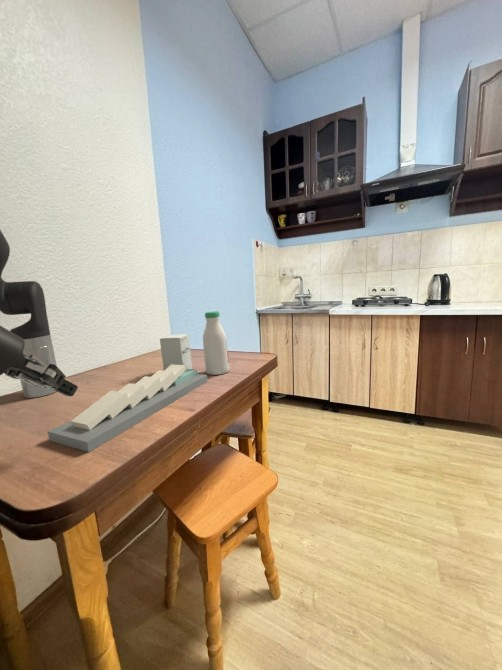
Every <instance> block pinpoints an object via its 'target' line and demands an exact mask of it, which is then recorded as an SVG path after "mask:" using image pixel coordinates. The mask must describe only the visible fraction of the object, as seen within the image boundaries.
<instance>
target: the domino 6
mask: <svg viewBox="0 0 502 670" xmlns="http://www.w3.org/2000/svg"><path fill="white" fill-rule="evenodd" d="M197 374H198V369H193V368H192V369H186V370H185V371H184V372H183V373H182V374H181V375H180V376H179V377H178V378H177V379H176V380H175V381H174V382H173V383H172V384H171V385H175V386H176V385H178V384H180V383H182V382H183V381H185V380H187V379H189V378H191V377H193V376H195V375H197Z"/></svg>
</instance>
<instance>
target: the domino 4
mask: <svg viewBox="0 0 502 670" xmlns="http://www.w3.org/2000/svg"><path fill="white" fill-rule="evenodd" d="M173 376H174V373H173V371H164V369H163V370H161V369H159V370H157V371H156V372H155V373H154V374H152V375H151V376H150V377H158V378H160V381H161V383H160V384H159V385H157V386H156V387H155V388H154V389H153V390H152V391H151V392H150V393H149V394H148V395H147V396H145V397H144V398H143V399H150V398H151V397H152V396H154V395H155V394H156V393H157V392H158V391H159V390H160V389H161V388H162V387H163V386H164V385H165V384H166V383H167V382H168V381H169V380H170V379H171V378H172V377H173Z"/></svg>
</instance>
